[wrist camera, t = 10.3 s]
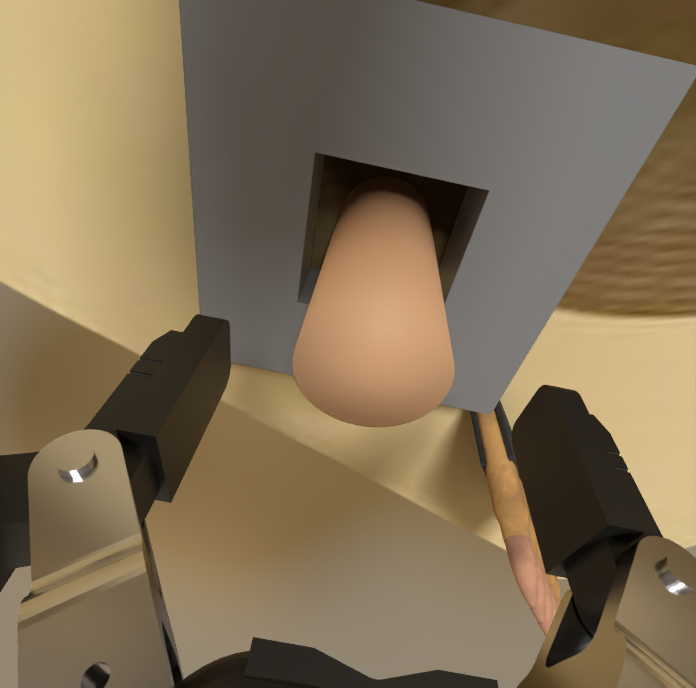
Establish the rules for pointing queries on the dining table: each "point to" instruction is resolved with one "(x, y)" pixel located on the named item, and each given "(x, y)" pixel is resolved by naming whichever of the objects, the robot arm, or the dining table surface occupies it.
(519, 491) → the ammunition clip
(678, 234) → the dining table surface
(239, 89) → the socket block
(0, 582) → the robot arm
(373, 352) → the peg
